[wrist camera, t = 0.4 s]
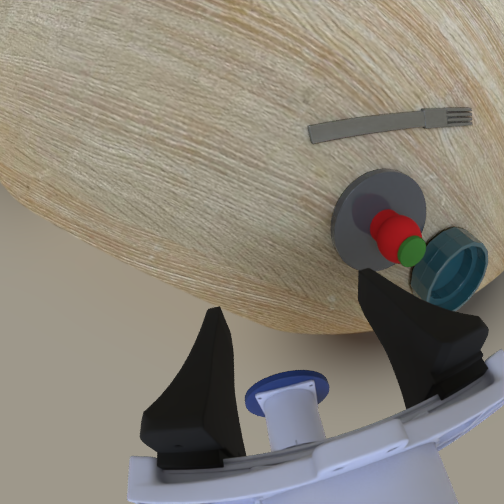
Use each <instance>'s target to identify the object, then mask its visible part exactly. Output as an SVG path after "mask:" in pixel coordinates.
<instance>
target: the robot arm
mask: <svg viewBox="0 0 504 504" xmlns="http://www.w3.org/2000/svg"><path fill="white" fill-rule="evenodd" d="M358 301H359V304H360V306H361V308H362V311H363V313H364V315H365V317H366V319H367V320H368V322H369V324H370V325H371V327H372V329H373V330H374V332H375V333H376V335H377V337H378V339H379V340H380V342H381V344H382V345H383V347H384V349H385V351H386V353H387V355H388V357H389V360H390V362H391V364H392V367H393V370H394V372H395V375H396V378H397V380H398V383H399V386H400V389H401V392H402V395H403V399H404V402H405V406H406V410H404V411H402V412H400V413H397V414H395V415H393V416H390V417H388V418H385V419H383V420H380V421H378V422H375V423H373V424H370V425H368V426H365V427H362V428H359V429H356V430H353V431H350V432H347V433H344V434H341V435H338V436H335V437H331V438H328V439H326V436H325V432H324V429H323V425H322V422H321V419H320V415H319V412H318V403H317V396H316V390H315V383H314V380H307V381H304V382H300V383H296V384H293V385H289V386H285V387H281V388H277V389H273V390H269V391H264V392H260V393H257V394H255V397H256V399H257V401H258V403H259V405H260V407H261V408H262V410H263V412H264V414H265V418H266V423H267V429H268V435H269V441H270V446H271V452H268V453H263V454H257V455H251V456H246V452H245V448H244V443H243V439H242V433H241V428H240V423H239V417H238V411H237V405H236V398H235V388H234V354H233V345H232V338H231V333H230V330H229V328H228V325H227V323H226V320H225V318H224V315H223V313H222V310H221V308H220V306H219V307H215V308H210V309H208V310H207V312H206V315H205V318H204V321H203V324H202V327H201V329H200V332H199V334H198V336H197V339H196V341H195V343H194V345H193V348H192V349H191V352H190V354H189V356H188V357H187V359H186V361H185V363H184V364H183V366H182V368H181V369H180V371H179V373H178V374H177V375H176V377H175V378H174V380H173V381H172V382H171V384H170V385H169V386H168V387H167V389H166V390H165V391H164V392H163V393H162V395H161V396H160V397H159V398H158V399H157V400H156V401H155V402H154V403H153V404H152V405H151V406H150V407H149V408H148V409H147V410H145V411H144V413H143V417H142V421H141V431H140V439H141V440H142V442H144V443H145V444H146V445H147V446H149V447H150V448H152V449H153V450H155V451H156V452H157V458H155V457H147V456H131V457H130V462H129V475H128V493H127V500H128V501H130V502H133V503H136V504H459V503H458V501H457V498H456V495H455V492H454V490H453V487H452V485H451V482H450V480H449V477H448V475H447V472H446V470H445V467H444V465H443V462H442V460H441V458H440V456H439V453H438V451H439V450H441V449H443V448H444V447H446V446H447V445H449V444H450V443H452V442H454V441H455V440H457V439H458V438H460V437H461V436H463V435H464V434H466V433H467V432H468V431H470V430H471V429H473V428H474V427H476V426H477V425H478V424H480V423H481V422H482V421H484V420H485V419H486V418H488V417H489V416H490V415H491V414H493V413H494V412H495V411H496V410H498V409H499V408H500V407H501V406H503V405H504V351H503V350H502V349H500V350H499V351H497V352H496V353H494V354H493V355H491V356H490V357H489V358H488V359H486V360H485V362H484V361H483V359H482V357H483V353H482V352H481V351H480V350H481V348H482V346H483V344H484V342H485V340H486V338H487V336H488V331H489V329H488V327H487V326H486V324H485V323H484V322H483V321H482V320H481V318H480V317H479V316H474V315H468V314H463V313H459V312H455V311H451V310H448V309H445V308H442V307H439V306H436V305H434V304H431V303H429V302H427V301H424V300H422V299H420V298H418V297H416V296H414V295H412V294H410V293H409V292H407V291H405V290H403V289H402V288H400V287H398V286H397V285H395V284H394V283H392V282H390V281H389V280H387V279H386V278H384V277H383V276H381V275H380V274H378V273H377V272H375V271H374V270H372V269H370V268H366V269H363V270H359V274H358Z"/></svg>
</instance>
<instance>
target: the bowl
mask: <svg viewBox="0 0 504 504" xmlns="http://www.w3.org/2000/svg"><path fill="white" fill-rule="evenodd" d="M487 265H488V251H487V249H486V247H485V246H484V244H483V243H482V242H480V241H479V240H478V239H477V238H475V237H474V236H473V235H472V234H470V233H469V232H468V231H466V230H465V229H462V228H457V227H453V228H451V229H448V230H445V231H443V232H441V233H440V234H439V235H438V236H437V237H435V238H434V239H433V240H432V241H431V242H429V244H428V245H427V246H426V251H425V254H424V256H423V258H422V259H421V260H420V261H419V262H418V263H417V264H416V265H415V267H414V269H413V272H412V279H411V288H412V291H413V294H414V296H416V297H418V298H420V299H422V300H424V301H427V302H429V303H431V304H434V305H436V306H439V307H442V308H445V309H448V310H451V311H456V310H458V309H459V308H460V307H462V306H463V305H464V304H465V303H466V302H467V301H468V300H469V299H470V298H471V297H472V295H473V294H474V293H475V292H476V290H477V289H478V287H479V285H480V283H481V282H482V280H483V278H484V275H485V272H486V269H487Z"/></svg>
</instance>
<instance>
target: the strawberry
mask: <svg viewBox="0 0 504 504" xmlns="http://www.w3.org/2000/svg"><path fill="white" fill-rule="evenodd" d="M370 233H371V236H372V238H373V239H374V240H375V241H376V242H377V246H378V249H379V251H380V253H381V254H382V255H383V256H384V257H385V258H386V259H387V260H389V261H390V262H393V263H398V264H399V263H401V264H402V265H403V266H405V267H412V266H414V265H416V264H417V263H418V262H419V261H420V260H421V259H422V258H423V256H424V254H425V251H426V244H425V241H424V240H423V239H422V235H421V231H420V228H419V227H418V225H417V224H416V222H415V221H414V220H412V219H411V218H409V217H407V216H404V215H399V214H398V213H396V212H395V211H393V210H390V209H386V210H383V211H381V212H379V213H378V214H377V215H376V216H375V217H374V218H373V220H372V222H371V225H370Z"/></svg>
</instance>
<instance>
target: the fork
mask: <svg viewBox="0 0 504 504" xmlns="http://www.w3.org/2000/svg"><path fill="white" fill-rule="evenodd" d="M447 111H472V109H471V108H469V107H450V108H424V109H421V111H411V112H399V113H389V114H380V115H371V116H363V117H356V118H349V119H343V120H336V121H330V122H325V123H319V124H314V125H309V126H307V127H308V131H309V136H310V141H311V143H312V144H315V143H320V142H325V141H330V140H335V139H340V138H346V137H352V136H358V135H364V134H370V133H377V132H384V131H391V130H398V129H407V128H416V127H423V128H426V129H427V128H437V127H450V126H465V125H472V122H450V123H447V122H449V121H469V120H472V117H450V118H447V116H472V113H470V112H450V113H447Z"/></svg>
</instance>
